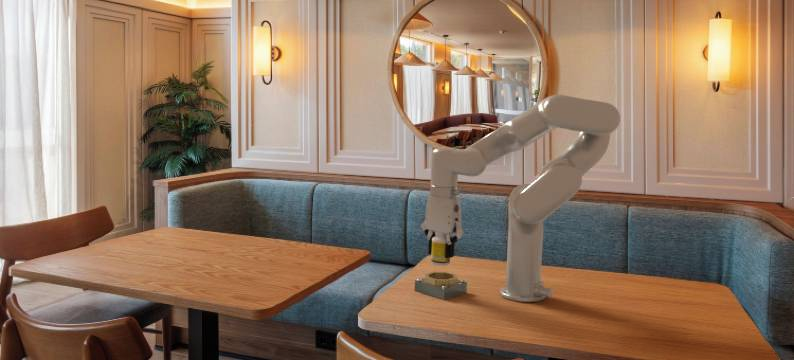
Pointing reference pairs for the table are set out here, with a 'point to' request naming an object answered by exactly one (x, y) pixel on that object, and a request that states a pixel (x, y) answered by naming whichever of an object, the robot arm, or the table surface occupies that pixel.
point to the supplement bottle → (439, 249)
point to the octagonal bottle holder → (441, 285)
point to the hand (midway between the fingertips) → (440, 254)
